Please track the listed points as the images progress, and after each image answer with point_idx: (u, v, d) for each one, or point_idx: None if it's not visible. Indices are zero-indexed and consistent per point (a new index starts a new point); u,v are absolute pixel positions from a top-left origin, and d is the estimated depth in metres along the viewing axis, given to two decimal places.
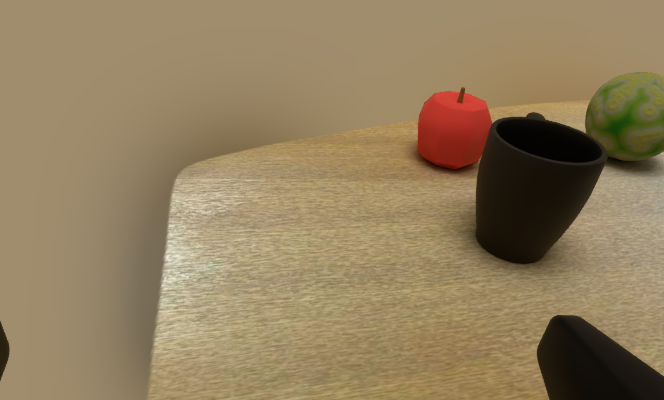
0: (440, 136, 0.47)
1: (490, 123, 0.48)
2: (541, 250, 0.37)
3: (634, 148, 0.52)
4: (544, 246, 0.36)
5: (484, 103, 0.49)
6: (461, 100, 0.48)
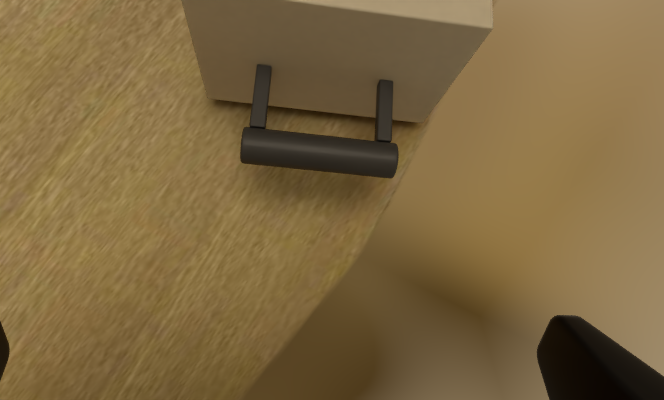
0: None
1: None
2: None
3: None
4: None
5: None
6: None
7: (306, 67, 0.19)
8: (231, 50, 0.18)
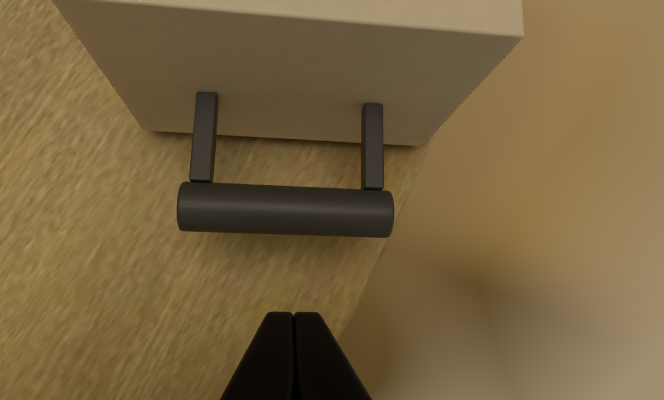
0: None
1: None
2: None
3: None
4: None
5: None
6: None
7: (264, 92, 0.14)
8: (157, 77, 0.13)
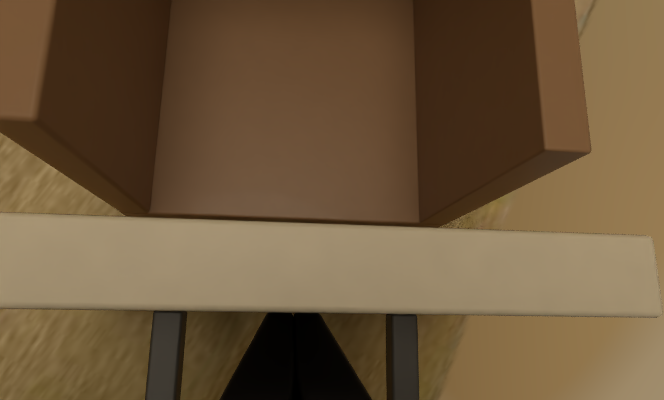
0: None
1: None
2: None
3: None
4: None
5: None
6: None
7: None
8: None
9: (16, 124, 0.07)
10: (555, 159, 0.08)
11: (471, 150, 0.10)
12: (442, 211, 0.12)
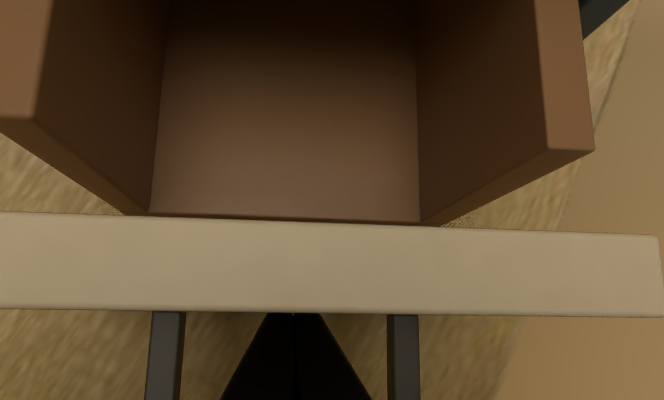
0: None
1: None
2: None
3: None
4: None
5: None
6: None
7: None
8: None
9: (11, 122, 0.07)
10: (558, 157, 0.08)
11: (473, 148, 0.10)
12: (443, 210, 0.12)
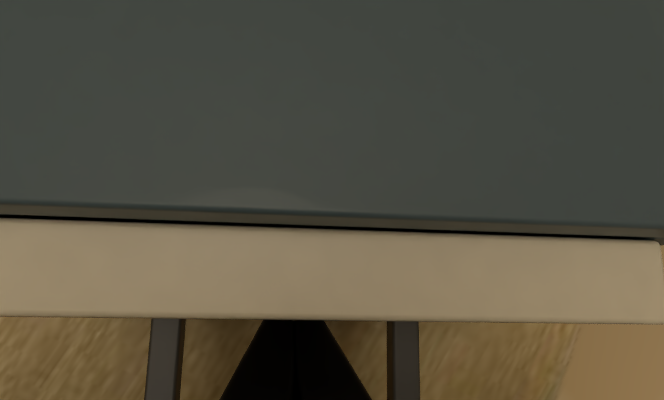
0: None
1: None
2: None
3: None
4: None
5: None
6: None
7: None
8: None
9: None
10: None
11: None
12: None
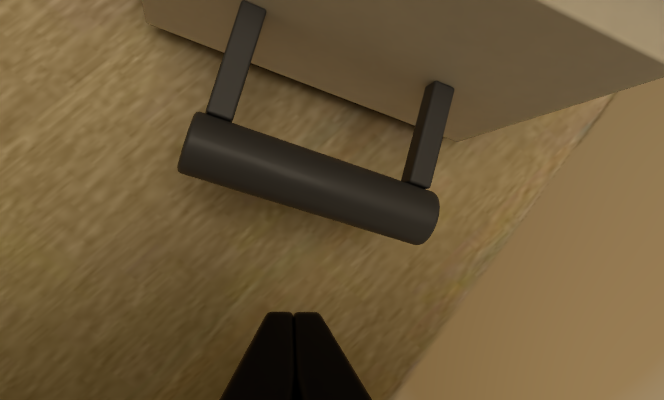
0: None
1: None
2: None
3: None
4: None
5: None
6: None
7: (326, 29, 0.11)
8: None
9: None
10: None
11: None
12: None
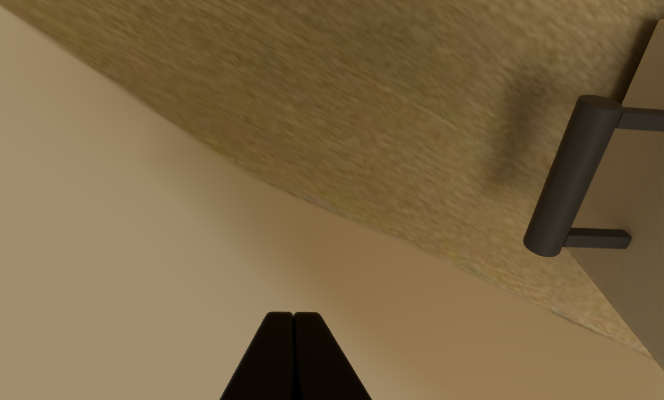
0: None
1: None
2: None
3: None
4: None
5: None
6: None
7: None
8: None
9: None
10: None
11: None
12: None
